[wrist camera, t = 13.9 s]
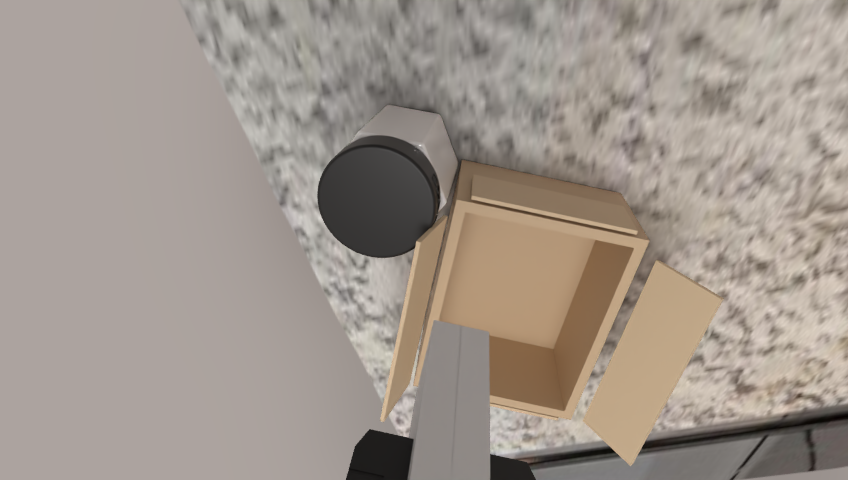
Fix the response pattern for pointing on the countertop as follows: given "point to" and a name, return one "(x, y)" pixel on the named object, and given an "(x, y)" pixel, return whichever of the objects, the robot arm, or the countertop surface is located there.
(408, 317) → the flap
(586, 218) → the carton
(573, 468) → the countertop surface
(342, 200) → the jar
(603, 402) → the flap
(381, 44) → the countertop surface
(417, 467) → the robot arm
